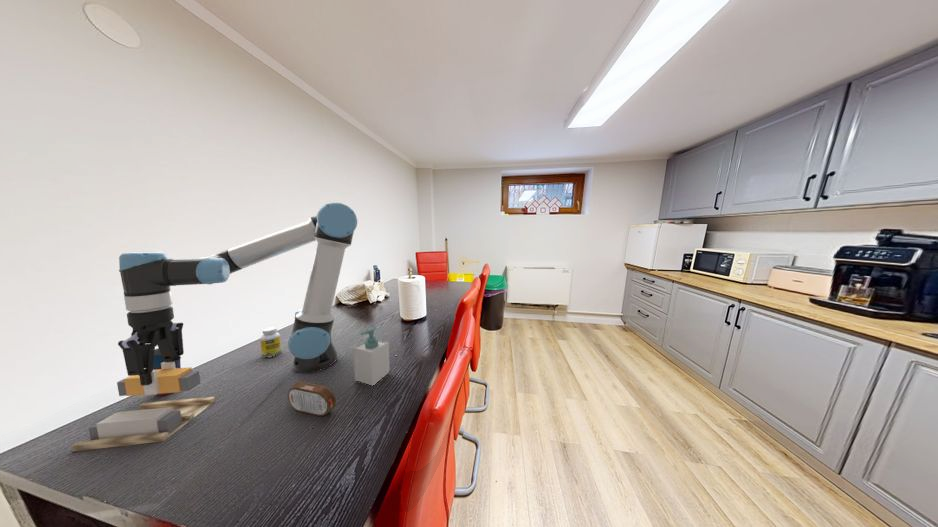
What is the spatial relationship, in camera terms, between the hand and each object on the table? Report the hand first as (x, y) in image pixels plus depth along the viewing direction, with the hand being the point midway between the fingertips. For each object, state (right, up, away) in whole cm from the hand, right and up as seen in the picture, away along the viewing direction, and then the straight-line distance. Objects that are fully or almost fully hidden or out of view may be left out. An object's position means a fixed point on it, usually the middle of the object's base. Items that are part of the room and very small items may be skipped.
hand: (161, 388), depth 67 cm
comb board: (+1, -9, -2) cm, 9 cm away
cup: (-11, -7, +11) cm, 17 cm away
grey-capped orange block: (0, 0, 0) cm, 0 cm away
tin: (+40, -9, +4) cm, 41 cm away
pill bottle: (+1, -5, +36) cm, 37 cm away
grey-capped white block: (+1, -9, -6) cm, 10 cm away
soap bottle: (+51, -7, +21) cm, 56 cm away
